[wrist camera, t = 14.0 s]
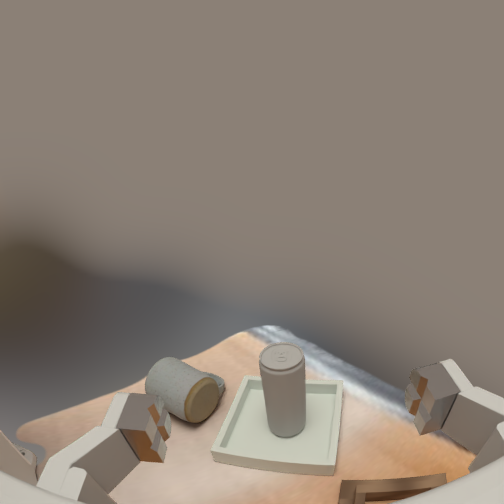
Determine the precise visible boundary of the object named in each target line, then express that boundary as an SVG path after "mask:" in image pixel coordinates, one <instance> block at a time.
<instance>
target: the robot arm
mask: <svg viewBox="0 0 504 504" xmlns="http://www.w3.org/2000/svg"><path fill="white" fill-rule="evenodd" d="M409 378H410V380H411V383H410V384H409V385H408V386H407V388H406V392H405V403H406V407H407V409H408V411H409V413H411V414H413V415H414V416H415V418H414V421H413V422H414V424H415V426H416V428H417V430H418V432H419V435H424V434H427V433H431V432H434V431H437V430H440V429H441V431H443V432H444V433H446V434H447V435H448V436H450V437H451V438H453V439H454V440H455V441H457V442H458V443H460V444H461V445H463V446H464V447H465V448H467V449H468V450H470V451H471V452H473V453H474V454H476V455H477V456H476V457H475V459H474V460H473V461H472V463H471V464H470V466H469V468H468V469H469V471H470V473H469V474H467V475H465V476H463V477H461V478H458V479H456V480H454V481H451V482H449V483H447V484H444V485H442V486H439V487H437V488H434V489H432V490H429V491H426V492H423V493H421V494H418V495H415V496H412V497H409V498H406V499H403V500H399V501H396V502H393V503H389V504H504V398H502V397H499V396H497V395H495V394H493V393H490V392H488V391H486V390H483V389H481V388H479V387H473V386H472V385H471V383H470V382H469V381H468V379H467V378H466V376H465V375H464V374H463V372H462V371H461V370H460V368H459V367H458V366H457V364H456V363H455V362H454V361H453V360H452V359H448V360H445V361H441V362H438V363H434V364H430V365H427V366H424V367H420V368H416V369H413V370H412V371H411V374H410V377H409ZM163 405H164V401H163V399H162V397H161V396H160V395H150V394H137V393H123V392H118V393H116V394H115V396H114V398H113V400H112V402H111V404H110V407H109V409H108V411H107V413H106V415H105V418H104V420H103V422H102V424H101V426H96V427H95V428H93V429H92V430H90V431H89V432H87V433H86V434H85V435H83V436H82V437H80V438H79V439H77V440H76V441H74V442H73V443H71V444H70V445H68V446H67V447H65V448H64V449H62V450H61V451H59V452H58V453H56V454H55V455H53V456H52V457H50V458H49V459H48V461H47V464H46V466H45V468H44V470H43V472H42V474H41V476H40V478H39V480H38V481H37V478H36V473H35V468H36V463H37V457H36V455H35V454H34V453H33V452H31V451H30V450H27V449H25V448H23V447H21V446H18V445H16V444H14V443H12V442H10V441H9V439H8V438H7V437H6V436H5V435H4V434H3V432H2V431H1V430H0V504H117V503H116V502H115V501H114V500H113V499H112V498H111V497H110V496H109V495H108V494H109V493H110V492H111V491H112V490H113V489H114V488H115V487H116V486H117V485H118V484H119V483H120V482H121V481H122V480H123V479H124V478H125V477H126V476H127V475H128V474H129V473H130V472H131V471H132V470H133V469H134V468H135V467H136V466H137V465H138V464H139V463H140V461H146V462H158V463H164V459H165V455H166V450H167V446H166V444H165V441H166V440H167V439H168V438H169V437H170V433H171V420H170V416H169V413H168V411H166V410H165V409H164V408H163Z"/></svg>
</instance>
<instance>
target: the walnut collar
mask: <svg viewBox="0 0 504 504" xmlns="http://www.w3.org/2000/svg"><path fill="white" fill-rule="evenodd" d="M444 484H447V480H446V473H442V474H435V475H428V476H420V477H410V478H399V479H383V480H342V483H341V490H340V497H339V504H365V501H385V500H399V499H406V498H409V497H412V496H415V495H418V494H421V493H423V492H426V491H429V490H432V489H434V488H437V487H439V486H442V485H444Z"/></svg>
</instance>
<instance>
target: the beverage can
mask: <svg viewBox="0 0 504 504" xmlns="http://www.w3.org/2000/svg"><path fill="white" fill-rule="evenodd" d="M259 357H260V360H259V367H260V374H261V380H262V387H263V393H264V400H265V407H266V414H267V420H268V426H269V428H270V430H271V431H272V432H273V433H274V434H276V435H278V436H282V437H290V436H294V435H296V434H298V433H299V432H300V431H301V430H302V429H303V428H304V426H305V424H306V381H305V358H304V355H303V351H302V349H301V348H300V347H299V346H297V345H295V344H293V343H288V342H280V343H275V344H271V345H269V346H267V347H266V348H264V349H263V350H262V352H261V353H260V356H259Z"/></svg>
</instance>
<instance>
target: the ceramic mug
mask: <svg viewBox="0 0 504 504" xmlns="http://www.w3.org/2000/svg"><path fill="white" fill-rule="evenodd" d="M145 391H146V394H150V395H160V396H161V397H162V399H163V401H164V405H163V408H164V409H165V410H167V411H168V412H170V413H172V414H174V415H175V416H177V417H179V418H181V419H183V420H185V421H188V422H192V423H198V422H201V421H203V420H204V419H206V418H207V417H208V416H210V414H211V413H212V412H213V410H214V409H215V407H216V405H217V402H218V398H219V395H220V394H221V393H222V392H223V391H224V380H223V379H222V378H221V377H219V376H217V375H214V374H211V373H207V372H201V371H199V370H197V369H195V368H193V367H191V366H190V365H188V364H186V363H184V362H182V361H180V360H179V359H176V358H173V357H167V358H163V359H161V360H160V361H158V362H157V363H156V364H154V365H153V367H152V368H151V369H150V371H149V373H148V375H147V378H146V382H145Z"/></svg>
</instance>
